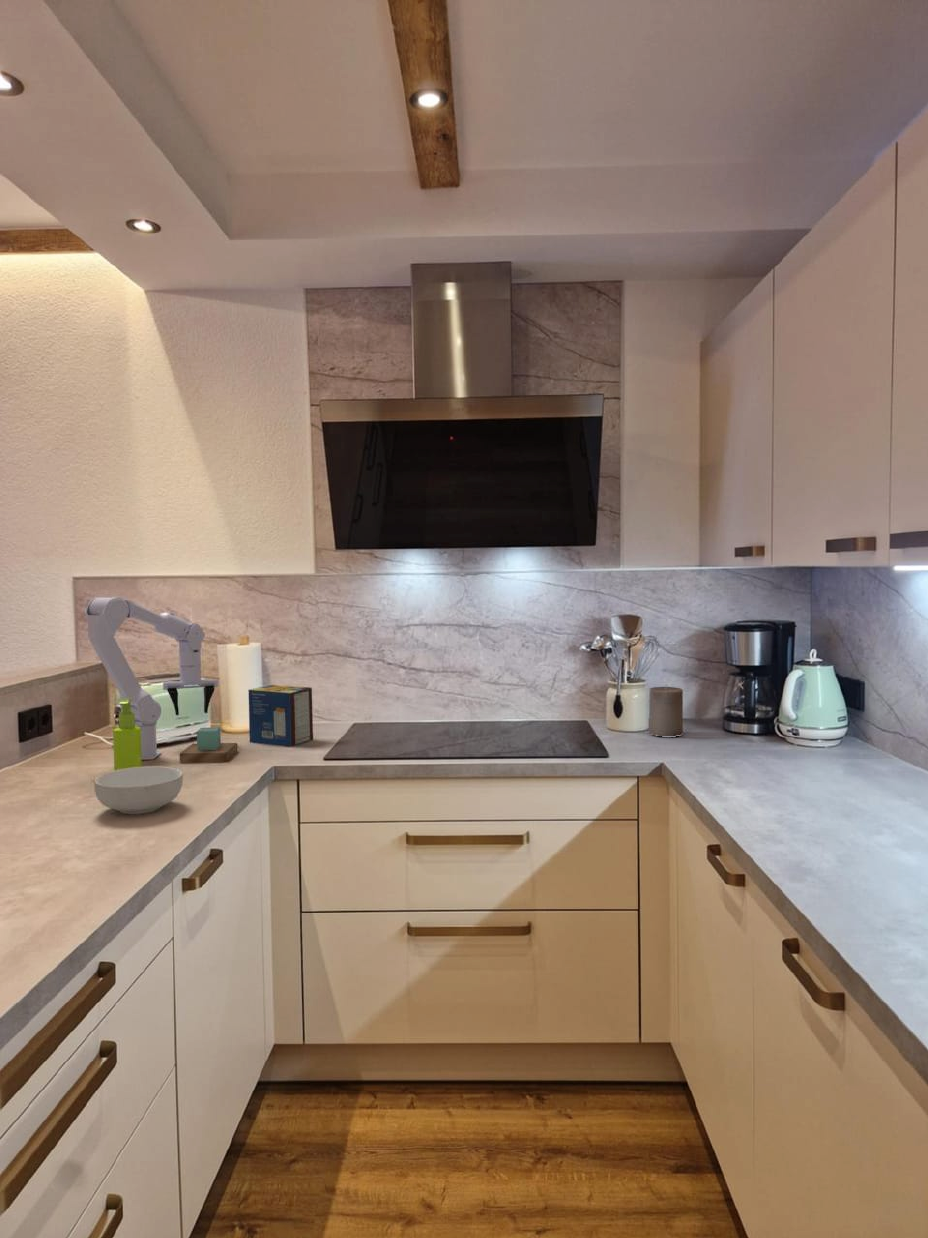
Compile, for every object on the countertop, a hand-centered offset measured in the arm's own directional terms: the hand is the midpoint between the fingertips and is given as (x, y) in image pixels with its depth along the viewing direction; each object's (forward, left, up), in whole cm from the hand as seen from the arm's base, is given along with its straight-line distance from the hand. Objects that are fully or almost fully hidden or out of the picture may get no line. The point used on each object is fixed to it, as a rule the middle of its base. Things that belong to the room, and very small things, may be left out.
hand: (191, 713), depth 226 cm
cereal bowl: (+5, -61, -10) cm, 62 cm away
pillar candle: (+137, +1, -10) cm, 137 cm away
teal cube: (+8, -14, -7) cm, 18 cm away
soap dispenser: (-4, -41, -10) cm, 42 cm away
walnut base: (+8, -14, -10) cm, 19 cm away
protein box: (+24, +5, -10) cm, 26 cm away
